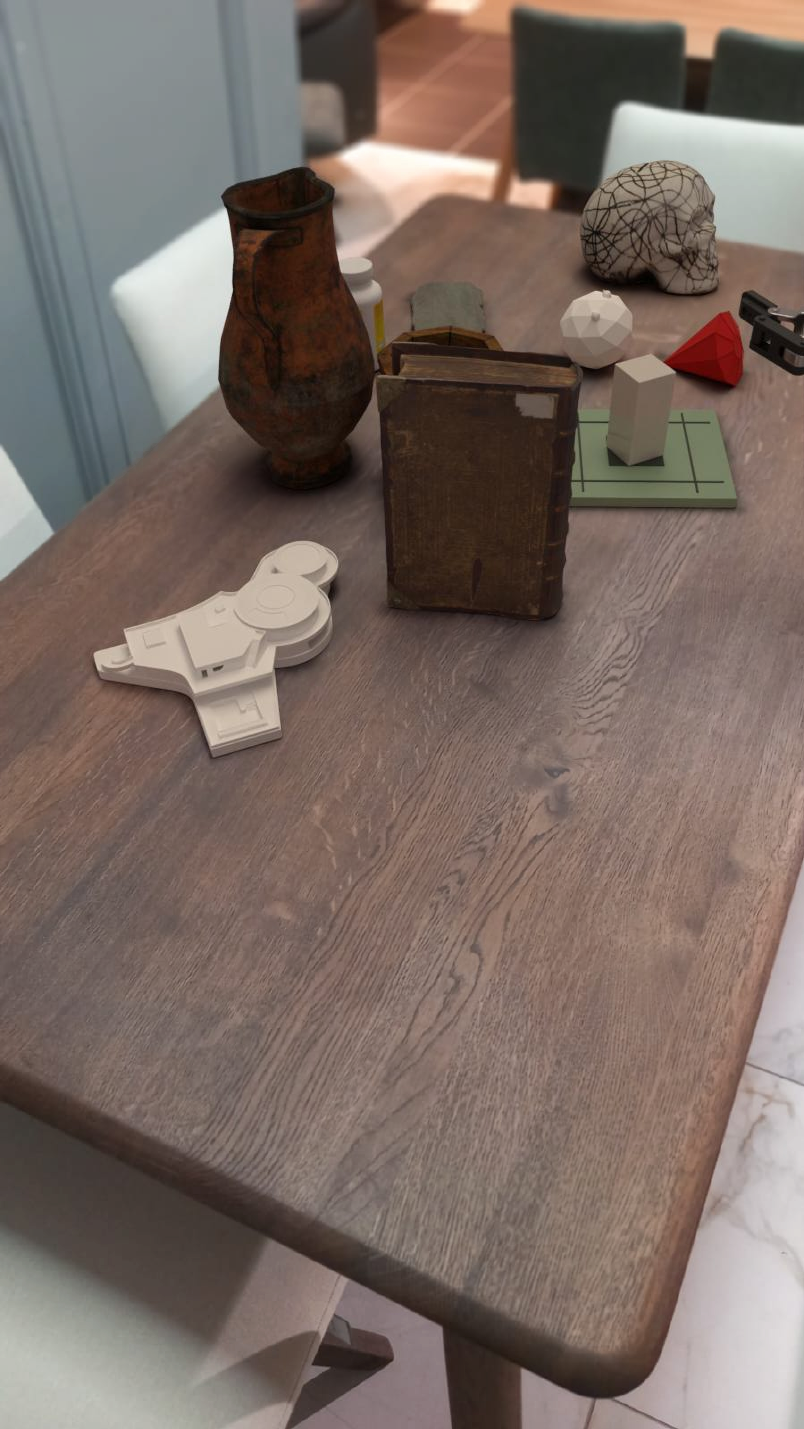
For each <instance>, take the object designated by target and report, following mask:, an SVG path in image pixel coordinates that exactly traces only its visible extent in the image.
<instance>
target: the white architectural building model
mask: <svg viewBox="0 0 804 1429" xmlns="http://www.w3.org/2000/svg"><path fill="white" fill-rule="evenodd" d="M339 565H340V564H339V560H338V557H337V555H336V554H335V553H334V552H333V551H332V550H331V549H329V548H328V547H326V546H323V545H321V544H319V543H317V542H314V541H310V540H295V541H291V542H289V543H285V544H283V545H282V546H280V547H278V548H276V549H274V550H272V551H270V552H268V553H266V554H265V556H263V557H262V558H261V559H260V561H259V563H258V565H257V567H256V569H255V570H254V572H253V574H252V576H251V578H250V580H249V581H248V582H247V583H246V584H244V585H243V586H242V587H241V588H240V589H239V590H236V591H223V590H220V591H218V592H217V593H215V594H214V595H213V596H211V597H209V598H207V599H205V600H204V601H201V602H200V603H198V604H196V605H194V606H192V607H189V608H187V609H184V610H182V611H180V612H176V613H174V614H171V615H168V616H165V617H163V618H159V619H155V620H152V621H149V622H144V623H141V624H138V625H137V624H136V625H134V626H130V627H126V628H123V633H124V637H125V640H126V643H122V644H119V645H116V646H110V647H108V648H104V649H100V650H97V651H95V652H94V653H93V660H94V663H95V667H96V670H97V673H98V676H99V679H102V680H104V681H111V682H116V683H122V684H123V683H124V684H129V685H136V686H143V687H147V688H155V689H160V690H161V689H162V690H166V691H167V690H168V691H174V692H178V693H181V694H184V695H186V696H187V697H189V698H190V699H191V701H192V703H193V705H194V708H195V711H196V714H197V717H198V720H199V722H200V725H201V728H202V731H203V733H204V736H205V739H206V743H207V745H208V748H209V751H210V753H211V758H212V759H213V758H218V757H221V756H225V755H228V754H230V753H235V752H238V751H240V750H244V749H248V748H251V747H254V746H258V745H261V744H265V743H267V742H271V741H274V740H275V741H276V740H278V739H282V738H283V733H282V732H283V731H282V724H281V723H282V722H281V714H280V706H279V705H280V704H279V695H278V687H277V679H276V678H277V677H276V670H275V669H276V668H277V669H278V668H279V669H280V668H288V667H293V666H297V665H301V664H303V663H305V662H308V661H310V660H312V659H313V658H315V657H317V656H318V655H319V654H321V653H322V652H323V651H324V650H325V649H326V647H328V645H329V644H330V642H331V640H332V637H333V634H334V626H333V617H332V607H331V602H330V599H329V593H330V589H331V582H332V581H334V579H335V578H336V576H337V575H338V573H339V567H340V566H339Z"/></svg>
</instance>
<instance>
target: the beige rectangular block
mask: <svg viewBox="0 0 804 1429" xmlns="http://www.w3.org/2000/svg"><path fill="white" fill-rule="evenodd" d="M663 362H664V361H662V360H661V359H660V358H658V357H657V356H655V355H654V354H653V353H649V354H645V355H641V356H638V357H635V358H630V359H627V360H624V361H620V362H617V363H616V362H615V364H614V370H613V378H612V388H611V397H610V406H609V409H610V415H609V424H608V433H607V443H606V447H608V448H609V449H610V450H611V451H612V452H613V453H614V454H616V455H617V456H618V457H619V458H620V459H621V460H622V461H623V462H625V463H626V464H627V465H628V466H630V465H634V464H637V463H640V462H643V461H646V460H650V459H653V458H656V457H659V456H662V455H664V449H665V442H666V436H667V429H668V423H669V416H670V410H671V409H672V402H673V396H674V395H673V394H674V390H675V383H676V375H677V372H676V370H675V369H674V368H671V367H669V366H667V365H666V364H665V363H663Z"/></svg>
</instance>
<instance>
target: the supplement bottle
mask: <svg viewBox="0 0 804 1429" xmlns="http://www.w3.org/2000/svg"><path fill="white" fill-rule="evenodd" d="M338 260H339V259H338ZM339 266H340V271H341V273H342V275H343V277H344V279H345V281H346V283H347V285H348V287H349V289H350V291H351V293H352V295H353V297H354V299H355V301H356V303H357V306H358V309H359V311H360V314H361V316H362V319H363V321H364V324H365V326H366V329H367V331H368V334H369V339H370V343H371V348H372V352H373V357H374V361H375V372H376V371H379V370H380V369H379V364H378V359H377V353H379V352H380V351H381V350H382V349H383V348H385V347H386V346H387V345H386V333H385V315H384V300H383V290H382V287H381V285H380V284H379V283H378V282H377V281H375V280H374V279H372V278H373V275H374V268H373V267H374V266H373V262H372V261H371V260H370V259H368V258H365V257H360V256H354V257H353V256H352V257H345V258H342V259H340V260H339Z"/></svg>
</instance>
